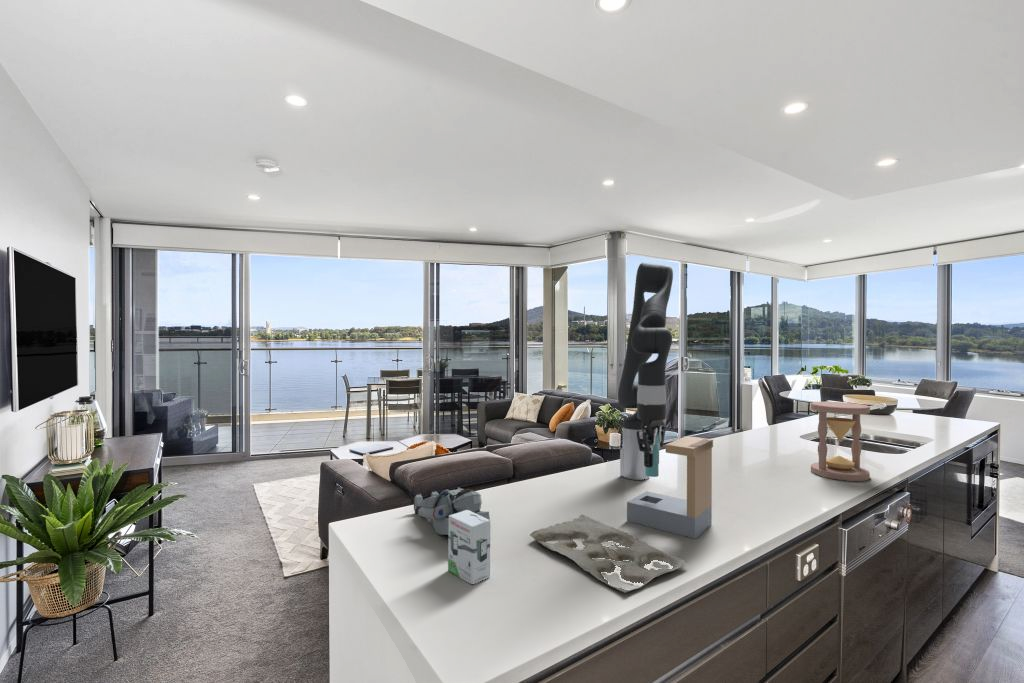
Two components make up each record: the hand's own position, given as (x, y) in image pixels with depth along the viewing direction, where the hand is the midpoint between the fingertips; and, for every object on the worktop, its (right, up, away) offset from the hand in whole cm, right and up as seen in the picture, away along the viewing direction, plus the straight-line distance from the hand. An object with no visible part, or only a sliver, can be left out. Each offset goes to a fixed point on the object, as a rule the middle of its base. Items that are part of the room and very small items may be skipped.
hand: (651, 465), depth 132 cm
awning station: (+4, -14, -3) cm, 15 cm away
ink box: (-47, -15, -31) cm, 58 cm away
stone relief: (-18, -15, -21) cm, 32 cm away
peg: (0, -3, 0) cm, 3 cm away
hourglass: (+79, -14, +43) cm, 91 cm away
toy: (-54, -15, -6) cm, 57 cm away
